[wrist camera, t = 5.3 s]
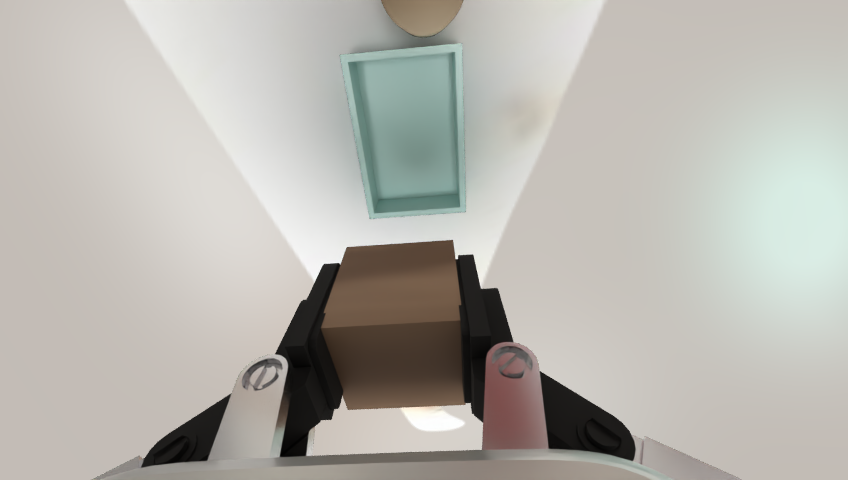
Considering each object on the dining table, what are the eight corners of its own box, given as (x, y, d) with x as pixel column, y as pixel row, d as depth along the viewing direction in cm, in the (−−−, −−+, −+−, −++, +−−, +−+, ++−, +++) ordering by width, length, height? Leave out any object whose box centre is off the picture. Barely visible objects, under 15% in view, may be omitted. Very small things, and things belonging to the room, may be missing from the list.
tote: (350, 53, 22) (339, 54, 19) (457, 43, 21) (462, 42, 19) (375, 202, 27) (369, 218, 24) (462, 195, 27) (465, 211, 24)
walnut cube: (346, 247, 13) (318, 328, 9) (452, 240, 12) (463, 320, 9) (365, 321, 15) (347, 409, 11) (456, 316, 15) (465, 404, 11)
